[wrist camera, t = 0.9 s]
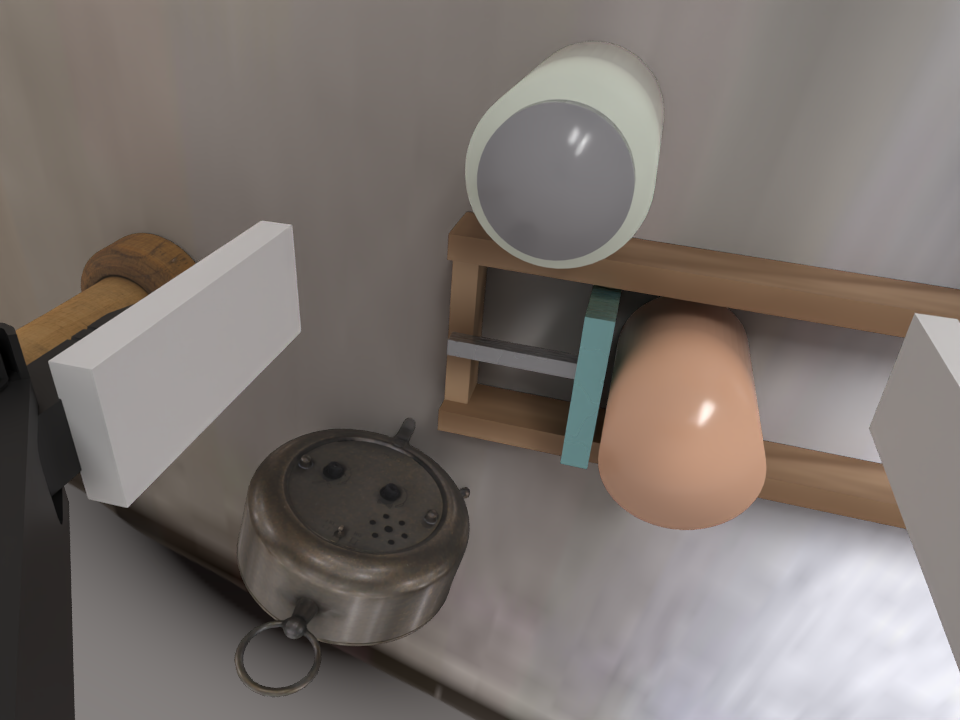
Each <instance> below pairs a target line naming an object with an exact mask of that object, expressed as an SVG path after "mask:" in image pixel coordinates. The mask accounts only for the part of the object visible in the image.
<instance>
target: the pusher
mask: <svg viewBox="0 0 960 720" xmlns="http://www.w3.org/2000/svg"><path fill="white" fill-rule="evenodd" d="M621 291H622V289H616V288H610V287H604V286H598V285H594V286H593V290H592V293H591V297H590V301H589V304H588V308H587V311H586V315H585V320H584V326H583V332H582V338H581V344H580V350H579V355H575V354H570V353H564V352H559V351H554V350H548V349H543V348H538V347H532V346H527V345H522V344H516V343H511V342H506V341H500V340H495V339H490V338H484V337H479V336H474V335H468V334H463V333H458V332H452V333H451V335H450V337H449V338H448V345H447V355H451V356H456V357H461V358H467V359H472V360H477V361H482V362H487V363H493V364H498V365H503V366H508V367H513V368H518V369H524V370H529V371H534V372H539V373H544V374H549V375H555V376H560V377H565V378H570V379H574V385H573V391H572V397H571V403H570V409H569V415H568V421H567V427H566V433H565V439H564V445H563V451H562V456H561V462H560V463H561V464H565V465H570V466H575V467H579V468H584V469H587V467H588V461H589V456H590V451H591V446H592V441H593V436H594V430H595V425H596V420H597V415H598V410H599V405H600V399H601V394H602V389H603V384H604V379H605V374H606V368H607V363H608V358H609V353H610V348H611V343H612V338H613V332H614V327H615V322H616V317H617V312H618V306H619V301H620V296H621Z"/></svg>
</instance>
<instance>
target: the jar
mask: <svg viewBox="0 0 960 720" xmlns="http://www.w3.org/2000/svg"><path fill="white" fill-rule="evenodd" d="M663 124H664V104H663V98H662V94H661V90H660V87H659V85H658V83H657V80H656V79H655V77H654V75H653V73H652V72H651V70H650V69H649V68H648V67H647V65H646V64H645V63H644V62H643V61H642V60H641V59H640V58H639V57H637V56H636V55H635V54H633V53H632V52H630V51H629V50H627V49H625V48H623V47H621V46H618V45H615V44H612V43H607V42H600V41H588V42H580V43H576V44H572V45H570V46H567V47H564V48H562V49H560V50H559V51H557V52H555V53H554V54H552V55H551V56H550V57H548V58H547V59H546V60H544V61H543V62H542V63H541V64H540V65H539V66H537V67H536V68H535V69H534V70H533V71H532V72H530V73H529V74H528V75H527V76H526V77H524V78H523V79H522V80H521V81H520V82H519V83H517V84H516V85H515V86H514V87H513V88H512V89H510V90H509V91H508V92H507V93H506V94H505V95H503V96H502V97H501V98H500V99H499V100H498V101H496V102H495V103H494V104H493V105H492V106H491V107H490V108H489V109H488V111H487V112H486V113H485V115H484V116H483V117H482V118H481V120H480V122H479V123H478V125H477V127H476V128H475V130H474V133H473V135H472V138H471V140H470V143H469V147H468V150H467V155H466V162H465V182H466V190H467V194H468V197H469V201H470V204H471V206H472V209H473V212H474V214H475V216H476V217H477V219H478V221H479V223H480V224H481V226H482V227H483V229H484V230H485V231H486V233H487V234H488V235H489V236H490V237H491V238H492V239H493V240H494V241H495V242H496V243H497V244H498V245H499V246H500V247H502V248H503V249H504V250H506V251H507V252H509V253H510V254H512V255H513V256H515V257H517V258H519V259H521V260H523V261H526V262H528V263H531V264H534V265H538V266H542V267H547V268H556V269H564V268H576V267H582V266H585V265H589V264H593V263H595V262H598V261H600V260H602V259H604V258H606V257H608V256H610V255H611V254H613V253H615V252H616V251H617V250H619V249H620V248H621V247H623V246H624V245H625V244H626V243H627V242H628V241H629V240H630V239H631V238H632V237H633V235H634V234H635V233H636V232H637V230H638V229H639V228H640V226H641V224H642V223H643V221H644V219H645V218H646V215H647V213H648V211H649V208H650V206H651V203H652V199H653V195H654V190H655V182H656V175H657V168H658V160H659V153H660V146H661V139H662V131H663Z"/></svg>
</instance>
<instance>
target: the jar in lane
mask: <svg viewBox="0 0 960 720" xmlns="http://www.w3.org/2000/svg"><path fill="white" fill-rule="evenodd" d="M598 467H599V472H600V476H601V479H602V482H603V484H604V486H605V488H606V489H607V491H608V493H609V494H610V495H611V497H612V498H613V499H614V500H615V501H616V502H617V503H618V504H619V505H620V506H621V507H622V508H623V509H625V510H626V511H627V512H629V513H630V514H632V515H633V516H635V517H637V518H639V519H641V520H643V521H645V522H648V523H651V524H653V525H657V526H660V527H665V528H670V529H680V530H695V529H703V528H708V527H713V526H716V525H719V524H722V523H725V522H727V521H729V520H731V519H733V518H735V517H736V516H738V515H740V514H741V513H742V512H744V511H745V510H746V509H747V508H749V506H750V505H751V504H752V503H753V502H754V501H755V500H756V498H757V497H758V495H759V494H760V492H761V489H762V487H763V485H764V481H765V478H766V468H767V467H766V457H765V450H764V444H763V437H762V430H761V424H760V417H759V410H758V403H757V397H756V390H755V383H754V376H753V370H752V363H751V356H750V349H749V343H748V338H747V334H746V332H745V329H744V327H743V325H742V324H741V322H740V321H739V319H738V318H737V317H736V316H735V315H734V314H733V313H732V312H731V311H730V310H729V309H728V308H726V307H722V306H716V305H710V304H704V303H698V302H692V301H687V300H681V299H675V298H669V297H659V298H657V299H654V300H652V301H650V302H648V303H646V304H644V305H643V306H641V307H640V308H638V309H637V310H636V311H635V312H634V313H633V314H632V315H631V316H630V317H629V319H628V320H627V321H626V323H625V324H624V326H623V328H622V330H621V333H620V336H619V339H618V345H617V350H616V356H615V362H614V368H613V373H612V379H611V385H610V391H609V396H608V402H607V408H606V414H605V419H604V425H603V431H602V437H601V442H600V448H599V455H598Z"/></svg>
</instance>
